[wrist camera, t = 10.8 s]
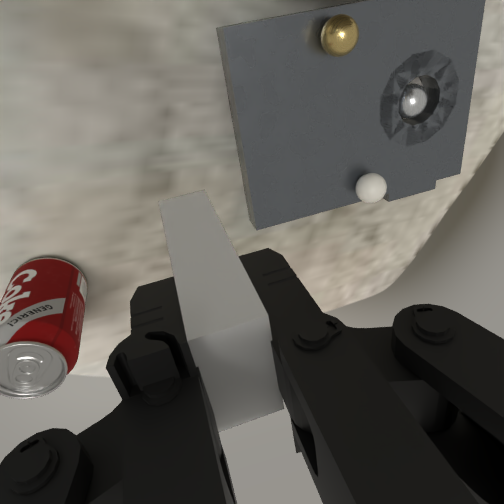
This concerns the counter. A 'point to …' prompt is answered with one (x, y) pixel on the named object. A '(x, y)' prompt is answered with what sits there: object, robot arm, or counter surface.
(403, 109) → the steel ball
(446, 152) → the grey flat block
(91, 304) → the counter surface
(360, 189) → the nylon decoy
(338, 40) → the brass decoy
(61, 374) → the soda can
